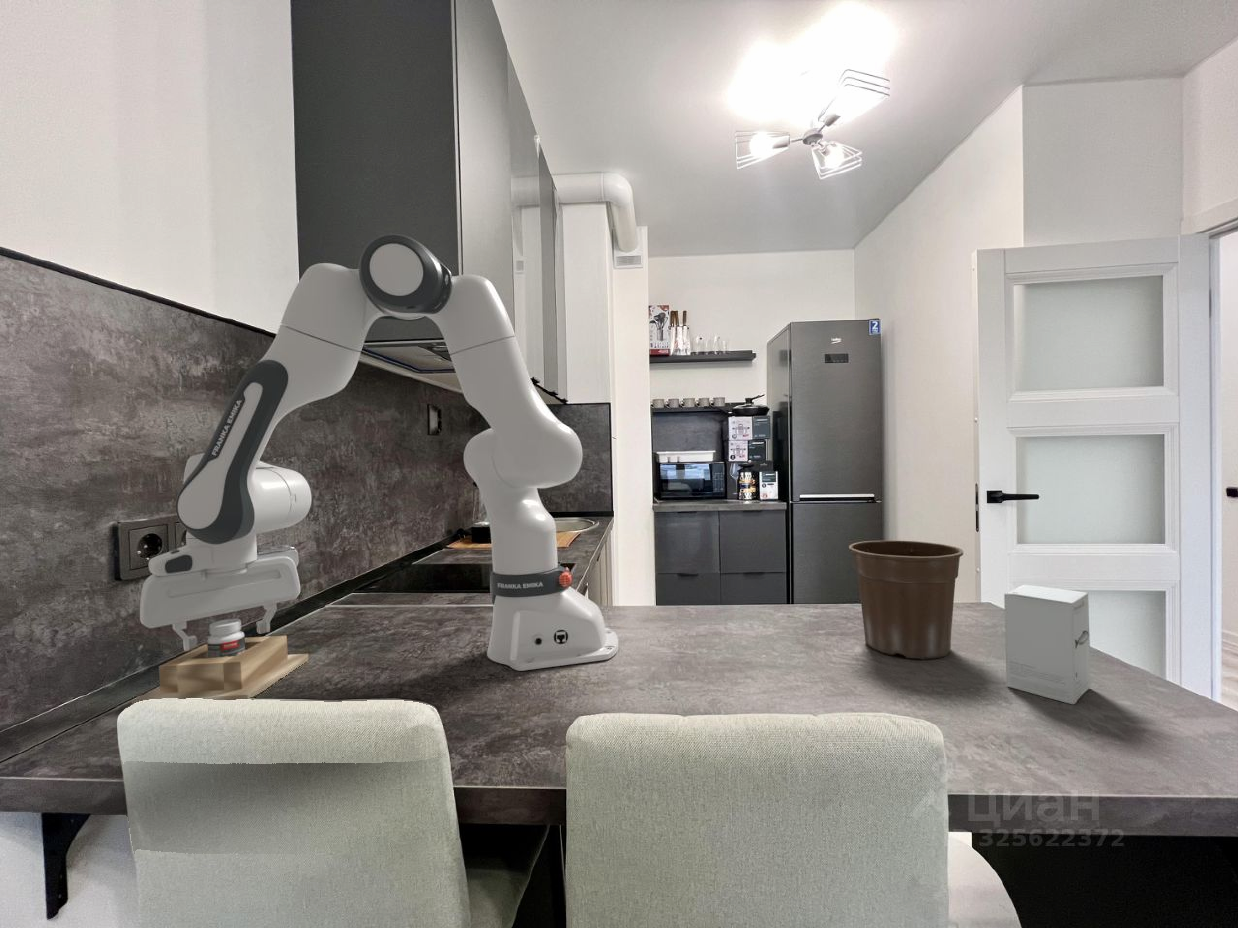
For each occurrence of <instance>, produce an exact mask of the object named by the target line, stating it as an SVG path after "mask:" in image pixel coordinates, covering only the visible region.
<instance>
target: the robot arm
mask: <svg viewBox="0 0 1238 928" xmlns="http://www.w3.org/2000/svg"><path fill="white" fill-rule="evenodd" d="M426 318H428V319H430V320H432V321H433V322H434V323H435V325H436V326H437V327H438V329H439V331H440V332H441V334H442V337H443V340H444V342H445V345H446V349H447V350H448V351H447V352H448V354H449V357H450V359H451V362H452V365H453V367H454V372H455V374H456V377H457V379H458V382H459V386H460V388H461V390H462V393H463V396H464V398H465V400H466V402H467V403H468V404H469V405H470V406H472V408H473V409H475V410H477V411H478V412H479V413H480V415H481V416H482V417H483V418H484V419H485V421H486V422H487V423H488V425H489V426H490V428H488V429H485V430H484V431H481V432H480V433H478V434H476V435H474V436H473V437H472V438H470V440H468V442H467V443H466V445H465V448H464V451H463V463H464V468H465V470H466V473H468V475H469V477H471V479H472V480H473V481H474V483H475V484H476V486H477V488H478V490H479V491H478V492H479V493H480V496H481V498H482V502H483V505H484V509H485V511H486V515H487V518H488V519H487V520H488V524H489V529H490V531H489V532H490V540H491V541H490V542H491V544H490V545H491V557H492V570H491V571H490V577H489V589H490V599H491V604H492V605H493V607H492V609H493V610H492V621H491V622H492V623H491V632H490V638H489V644H488V647H487V651H486V656H487V658H488V659H490V661H493V662H494V663H498V664H503V665H506V666H509V667H510V668H511V669H513V670H515V671H519V672H521V671H529V670H537V669H545V668H552V667H553V668H554V667H560V666H567V665H568V666H569V665H576V664H583V663H591V662H598V661H606V660H609V659H611V658H612V657H614V655H616V654H617V652H618V650H619V638H618V635H617V634H616V633H617V632H615V631H614V630H612V629H611V628H608V627H606V625H605V620H604V617H603V614H602V612H601V609H600V608H599V606H598V605H597V603H595V602H594V601H592V600H590V599H589V598H588V597H586V596H585V595H583V594H581V592H579V591H577V589H574V588H573V587H572V586H571V583H572V575H571V572H570V568H568V567H564V566H561V565H560V564H559V562H558V560H559V559H558V544H557V543H558V542H557V541H558V540H557V525H556V521H555V519H554V517H553V516H552V515H551V514H550V513H549V512H548V510H547V509H546V507H544V505H543V503H542V501H541V497H540V495H539V492H538V489H548V488H553V487H556V486H560V485H562V484H565V483H568V482H570V481H571V480H573V479H574V478H575V477H576V475H577V474H578V473H579V471H580V469H581V467H582V463H583V458H584V457H583V447H582V444H581V440H580V438H579V436H578V435H577V433H576V432H575V431H574V430H573V429H572V428H571V427H570V426H567V424H564V423H563V422H562V421H560V420H559V419H558V417H556V415H555V414H554V413H553V412H552V411H551V409H550V408H549V407H548V405H546V403H545V401H544V400H543V398H542V397H541V396H540V394H539V392H538V391H537V389H536V387H535V385H534V384H533V381H532V378H531V377H530V374H529V372H528V368H527V366H526V363H525V360H524V357H523V354H522V351H521V348H520V346H519V342H518V339H517V337H516V333H515V331H514V328H513V324H512V322H511V319H510V316H509V315H508V312H507V309H506V307H505V305H504V303H503V301H502V299H501V296H500V295H499V294H498V291H497V290H496V288H495V286H494V284H493V283H492V281H490V280H489V279H487V278H486V277H484V276H482V275H478V274H472V273H471V274H470V273H467V274H465V273H464V274H460V275H459V274H458V275H456V276H455V275H454V276H453V275H452V272H451V271H450V270H449V268H448V267H446V266H445V265H444V263H442V262H441V261H440V260H439V259H438V258H437V257H436V256H435V255H434V254H433V253H432V252H431V251H430V250H429V249H428V248H427V247H426V246H424V245H423V244H422V243H421V242H419V241H418V240H415V239H414V238H412V237H410V236H407V235H403V234H397V233H389V234H384V235H380V236H378V237H376V238H374V239H373V240H371V241H370V242H369V243H368V244H367V245H366V246H365V247H364V249H363V250H362V252H361V255H360V258H359V262H358V268H354V269H353V268H347V267H346V266H344V265H339V264H336V263H331V262H330V263H329V262H323V263H315V264H313V265H311V266H309V267H308V268H306V270H305V271H304V273H303V274H302V276H301V278H300V280H298V283H297V284H296V286H295V288H294V290H293V292H292V294H291V296H290V298H289V301H288V302H287V305H286V308H285V310H284V312H283V315H282V318H281V322H280V325H279V328H278V330H277V333H276V335H275V338H273V339H274V340H273V341H272V343H271V345H270V346H269V348H268V350H267V351H266V353H265V354H264V355H263V357H262V358H261V359H260V360H259V361H258V362H256V363H255V364H254V365H253V364H252V366H251V367H249V369H247V371H246V372H245V373H244V375H243V377H241V380H240V381H239V383H238V385H237V387H235V390H234V393H233V394H232V396H231V397H230V400H229V402H228V404H227V406H226V407H225V410H224V412H223V414H222V417H221V418H220V421H219V423H218V424H217V427H216V429H215V431H214V433H213V434H212V438H211V439H210V441H209V443H208V445H207V448H206V450H204V451H200V452H197V453H195V454H193V455H192V456H190V457H189V458H188V459H187V462H186V465H185V469H184V473H183V482H182V483H183V484H182V485H181V487H180V489H179V490H178V493H177V496H176V500H175V514H176V517H177V519H178V521H179V523H180V525H181V526H182V527H183V529H184V530H185V531H186V534H185V543H186V544H185V545H183V546H181V547H178V548H175V549H173V550H171V551H168V552H164V553H161V554H160V555H157V556H155V557H152V558H151V559H150V560H149V562H148V569H149V570H148V571H149V572H150V573H151V574H150V575H149V576H148V577H147V578H146V579H145V581H144V582H143V585H142V588H141V592H140V593H141V595H140V602H139V620H140V623H141V624H142V625H143V626H145V627H146V628H148V629H155V628H159V627H165V626H170V625H172V630H173V631H174V632H175V633H176V634H177V635H178V636H179V637H180V638H181V639H182V646H183V651H184V652H190V651H192V650H194V649H197V648H199V646H198V637H197V636H196V635H187V633H186V632H184V631H183V630H185V629H187V628H188V626H187V622H188V621H190V622H191V621H193V620H200V619H204V618H208V617H213V616H219V615H223V614H229V613H233V612H238V611H243V610H248V609H253V608H258V607H263V609H264V610H265V614H264V616H263V618H262V619H261V620H258V621H256V632H257V633H258V634H259V635H260V634H265V633H269V632H270V631H271V620H272V619H273V617H274V616H275V614H276V612H277V610H278V605H277V604H278V603H283V602H287V601H293V600H296V599H297V597H299V595H300V593H301V584H300V577H299V574H298V568H297V567H298V566H299V561H300V560H299V551H298V550H297V549H296V548H295V547H292V546H289V545H288V544H279V545H276V546H263V547H258V544H257V534H258V535H259V534H264V533H269V532H272V531H275V530H276V531H277V530H281V529H285V528H289V527H293V526H295V525H297V524H299V523H301V522H303V521H304V520H305V519H306V518H307V517H308V515H309V513H310V512H311V509H312V505H313V496H314V495H313V490H312V487H311V484H310V482H309V481H308V479H307V478H306V477H305V476H304V475H303V474H302V473H300V471H297V470H294V469H289V468H284V467H280V466H277V465H273V464H270V463H266V462H264V461H261V460H260V459H261V457H262V455H263V453H264V451H265V449H266V447H267V445H268V442H269V440H270V438H271V436H272V434H273V432H274V430H275V428H276V426H277V425H278V424H279V422H280V421H282V419H283V418H284V417H285V416H287V415H288V414H289V413H291V412H292V411H294V410H296V409H298V408H300V407H303V406H304V405H307V404H309V403H313V402H315V401H318V400H323V399H326V398H328V397H330V396H334V395H335V394H337V393H339V392H341V391H342V390H344V389H345V388H346V386H347V385H348V383H349V382H350V381H351V379H352V377H353V375H354V373H355V370H356V369H357V366H358V362H359V360H360V355H361V352H362V349H363V347H364V345H365V344H364V343H365V342H366V341H365V340H366V338H367V335H368V332H369V330H370V328H371V326H372V325H373V324H374V322H375V321H376V320H377V319H382V320H395V321H403V322H416V321H421V320H423V319H426Z"/></svg>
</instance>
